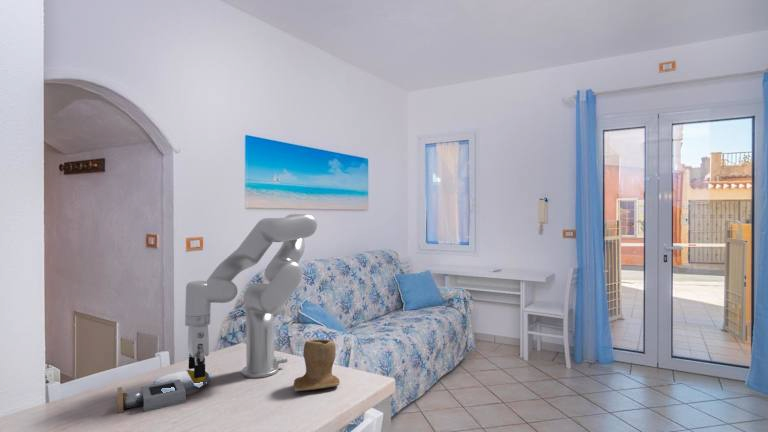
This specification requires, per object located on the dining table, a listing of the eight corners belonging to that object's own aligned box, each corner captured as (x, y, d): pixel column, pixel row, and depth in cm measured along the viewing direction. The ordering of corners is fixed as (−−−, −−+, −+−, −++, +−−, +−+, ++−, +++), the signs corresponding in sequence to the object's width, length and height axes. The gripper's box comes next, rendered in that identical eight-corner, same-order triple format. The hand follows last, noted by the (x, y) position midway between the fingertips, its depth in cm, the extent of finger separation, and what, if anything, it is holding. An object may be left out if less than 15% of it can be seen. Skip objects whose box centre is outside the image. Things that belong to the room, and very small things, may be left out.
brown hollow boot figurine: (334, 376, 150) (334, 333, 150) (342, 390, 139) (342, 343, 139) (290, 382, 145) (289, 337, 145) (294, 396, 134) (293, 348, 134)
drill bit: (213, 388, 142) (191, 374, 136) (199, 394, 143) (177, 380, 137) (216, 374, 146) (195, 359, 140) (203, 379, 147) (181, 365, 141)
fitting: (180, 390, 140) (179, 372, 140) (185, 402, 130) (185, 383, 130) (117, 403, 130) (117, 384, 130) (118, 417, 121) (118, 397, 121)
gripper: (215, 323, 136) (214, 378, 136) (204, 313, 150) (203, 363, 150) (189, 326, 132) (188, 383, 132) (181, 315, 146) (179, 366, 146)
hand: (196, 372), depth 141 cm, fingers open, 9 cm apart
